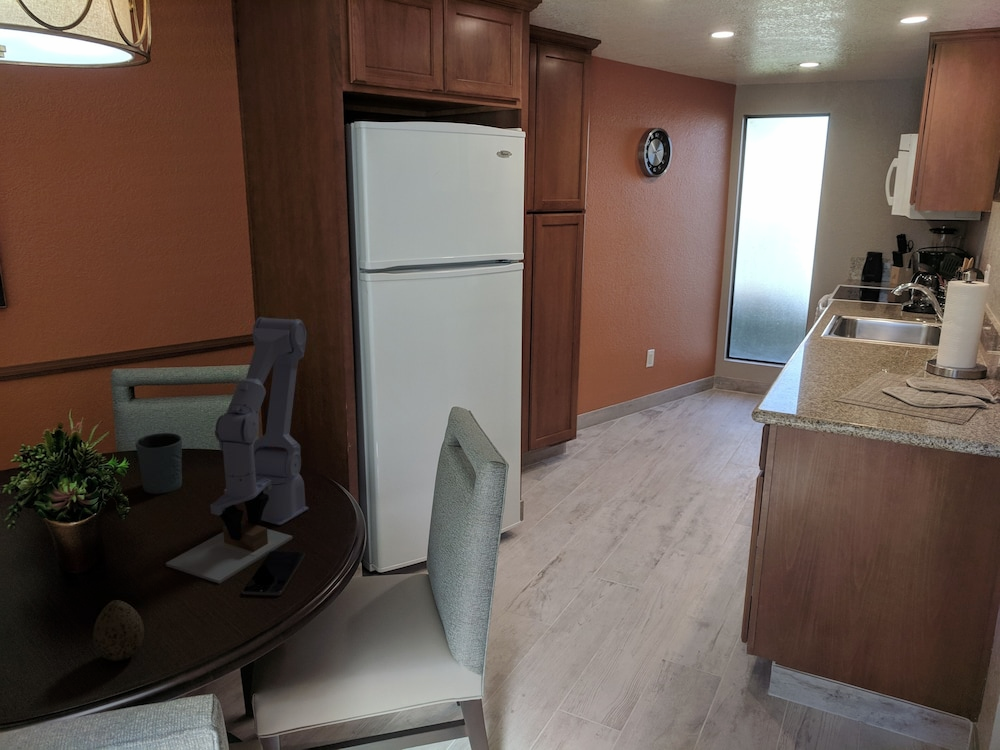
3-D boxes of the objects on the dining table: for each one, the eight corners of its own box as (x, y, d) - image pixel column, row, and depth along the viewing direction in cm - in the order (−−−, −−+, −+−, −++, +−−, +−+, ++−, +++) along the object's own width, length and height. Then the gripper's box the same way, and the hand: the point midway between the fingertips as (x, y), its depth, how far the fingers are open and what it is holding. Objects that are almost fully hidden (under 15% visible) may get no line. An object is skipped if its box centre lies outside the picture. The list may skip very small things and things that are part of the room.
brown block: (268, 543, 154) (266, 527, 153) (253, 551, 150) (252, 535, 149) (238, 534, 157) (237, 519, 156) (224, 542, 154) (222, 527, 153)
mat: (242, 524, 163) (241, 521, 163) (292, 538, 158) (292, 535, 157) (166, 565, 146) (165, 562, 146) (219, 583, 140) (219, 580, 140)
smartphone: (305, 551, 152) (280, 593, 136) (306, 556, 152) (280, 598, 136) (269, 550, 152) (240, 591, 136) (270, 555, 152) (240, 597, 137)
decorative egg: (152, 641, 123) (146, 587, 120) (139, 669, 116) (131, 612, 113) (105, 645, 122) (98, 590, 119) (89, 673, 115) (81, 616, 112)
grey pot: (153, 477, 187) (148, 432, 184) (193, 478, 186) (189, 433, 183) (132, 494, 177) (126, 446, 174) (175, 496, 177) (169, 448, 173)
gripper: (251, 455, 158) (256, 515, 161) (196, 480, 145) (202, 544, 149) (277, 462, 155) (281, 522, 158) (223, 487, 142) (229, 552, 146)
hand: (245, 533), depth 153 cm, fingers open, 5 cm apart
